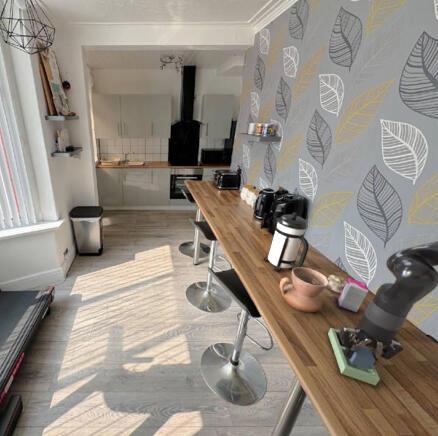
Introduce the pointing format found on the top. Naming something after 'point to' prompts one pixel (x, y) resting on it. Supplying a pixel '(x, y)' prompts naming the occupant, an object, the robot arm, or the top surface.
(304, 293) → the ceramic jug
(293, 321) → the top surface
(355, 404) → the top surface
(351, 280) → the supplement box
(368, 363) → the blue block
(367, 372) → the frame
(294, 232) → the coffee press
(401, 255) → the robot arm
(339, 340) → the dark grey block
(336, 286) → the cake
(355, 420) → the top surface
